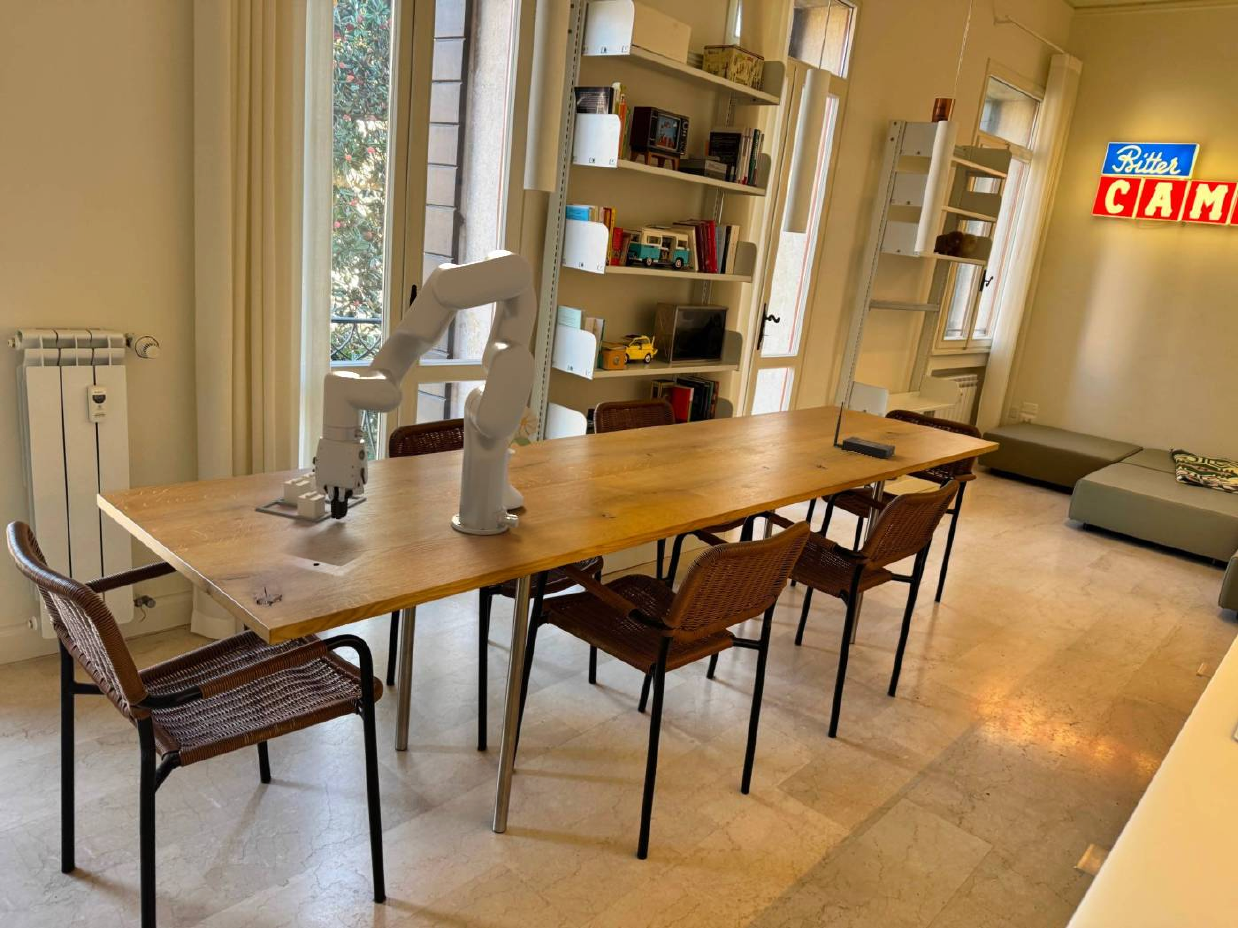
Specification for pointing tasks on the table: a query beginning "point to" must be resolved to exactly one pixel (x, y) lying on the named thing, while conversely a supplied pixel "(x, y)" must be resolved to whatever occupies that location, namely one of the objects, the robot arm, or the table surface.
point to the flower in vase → (525, 428)
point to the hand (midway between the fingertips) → (338, 517)
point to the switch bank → (282, 502)
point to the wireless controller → (863, 445)
